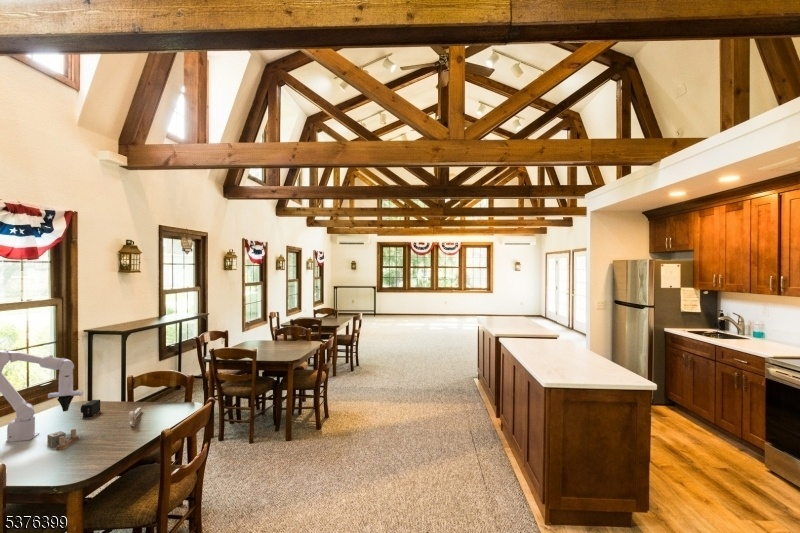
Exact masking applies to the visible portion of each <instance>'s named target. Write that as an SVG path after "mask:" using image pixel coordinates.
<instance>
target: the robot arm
mask: <svg viewBox="0 0 800 533" xmlns="http://www.w3.org/2000/svg"><path fill="white" fill-rule="evenodd" d="M9 361H10V363H14V362H17V361H19V362H20V361H21V362H25V363H26V362H27V363H30V364H31V363H32V364H39V366H40V368H44V369H49V370H55V371H57V370H59V373H58V392H49V393H47V398H48V399H50V398H57V399H56V400H57V402H58V403H59V404H60V407H61V408H62V412H68V411H69V408H70V405H71V402H72V400H73V399H74V397H76V396H77V397H82V396H84V391H83V390H82V391H81V390H79V391H78V390H74V369H75V364H74V363H73V361H72V360H71V359H68V358H65V357H61V358H60V357H55V356H54V355H52V354H49V355H44V356H37V355H33V354H30V353H26V352H20V351H16V350H9V349H8V350H6V349H0V393H1V395H2V396H3V397H4V398H5V400H6V402H8V403H9V404H10V405H11V407H12V409H13V410H14V412H15V413H16V418H15V419H12V420H10V421H9V422H8V425H7V428H6V429H7V430H6V436H7V437H6V441H5V442H6V443H8V442H9V443H10V442H20V441H21V442H22V441H29V440H31V439H33V438H35V437H37V436H38V435H39V434H40V432H36V415H35V410H34V405H33V404H32V403H30V402H27V401H26V400H25V398H23V397H22V395H21V394H20V393H19V392H18V391H17V389H16V388H15V387H14V386H13V384H11V382H10V381H9V379H7V377H6V376H5V375H4V374H3V370H4V367H5V366H6V365H7V364H8V363H9Z"/></svg>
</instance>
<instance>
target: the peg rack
mask: <svg viewBox="0 0 800 533" xmlns="http://www.w3.org/2000/svg"><path fill="white" fill-rule="evenodd" d="M79 439H80V437H79V435H77V428H74V429H73V428H72V429H70V437H68V438H67V439H66V440H65V436H62V437H60V438H59V445H58V446H56V447H55V448H56V451H61V450H65V449H67V448H68V447H70V446H71V445H72V444H74V443H75V442H77V441H78V440H79Z"/></svg>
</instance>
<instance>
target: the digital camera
mask: <svg viewBox="0 0 800 533" xmlns="http://www.w3.org/2000/svg"><path fill="white" fill-rule="evenodd" d="M99 411H100V412H101V399H92V400H90V401H88V402H86V403H84V404H82V405H81V406H80V412H81V414H82V419H87V418H88V419H89V417H92V418H93V417H94V415H95V414H96V415H98V414H99V413H100V412H99ZM98 412H99V413H98ZM96 415H95V416H96Z"/></svg>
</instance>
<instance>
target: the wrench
mask: <svg viewBox="0 0 800 533" xmlns="http://www.w3.org/2000/svg"><path fill="white" fill-rule="evenodd" d="M141 413H142V407H137V408H136V409H135V410H131V411H129V413H128V419H129V426H130V427H134V426H135V422H136V419H137V418H138V417H139V415H140V414H141ZM133 425H134V426H133Z"/></svg>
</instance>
